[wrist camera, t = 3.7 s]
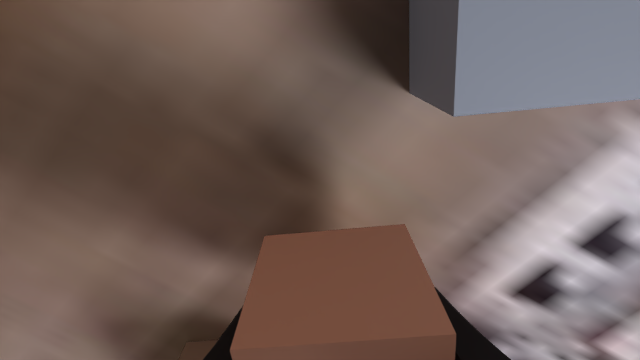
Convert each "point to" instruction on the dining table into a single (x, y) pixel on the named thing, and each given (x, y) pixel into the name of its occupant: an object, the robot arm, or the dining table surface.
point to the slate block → (523, 53)
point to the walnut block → (197, 350)
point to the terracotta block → (342, 300)
